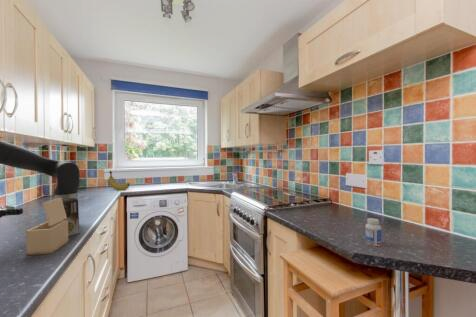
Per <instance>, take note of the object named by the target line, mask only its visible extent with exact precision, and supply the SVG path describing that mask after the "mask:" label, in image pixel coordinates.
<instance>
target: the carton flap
mask: <svg viewBox="0 0 476 317" xmlns="http://www.w3.org/2000/svg"><path fill="white" fill-rule="evenodd" d="M42 207H43V210H44V214H45V217H46V222H48V225H49V226H51V225H53V224H55V223H58V222H60V221H62V220H64V219H66V218H67V216H66V213H65V209H64V205H63V202H62V198H61V197H60V198H57V199H55V198H54V199H51V200H48V201H45V202H44V201H43V202H42Z"/></svg>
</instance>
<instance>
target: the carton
mask: <svg viewBox="0 0 476 317" xmlns="http://www.w3.org/2000/svg"><path fill="white" fill-rule="evenodd" d="M69 242H70V241H69V236H68V221H60V222H58V223H55V224H53V225H51V226H49V225H48V222H47V221H44V222H43V223H41V224H38V225H37V226H34V227H32V228H29V229H27V230H25V246H26V248H25V249H26V250H25V252H26V256H33V255H34V256H35V255H36V256H37V255H47V254H53V253H54V252H55V251H57V250H58V249H60V248H61V247H63V246H64V245H65V244H67V243H69Z"/></svg>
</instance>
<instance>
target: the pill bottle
mask: <svg viewBox="0 0 476 317" xmlns="http://www.w3.org/2000/svg"><path fill="white" fill-rule="evenodd" d="M364 229H365V243H366V244H367V245H369V246H372V247H380V246H382V243H383V242H382V226H381V225H380V220H379V219H378V218H373V217H368V218H367V220H366V224H365V228H364Z"/></svg>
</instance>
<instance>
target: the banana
mask: <svg viewBox="0 0 476 317" xmlns="http://www.w3.org/2000/svg"><path fill="white" fill-rule="evenodd" d="M108 173H109V174H110V176H109V177H108V180H107V181H108V185H109V186H110V187H111V188H112V189H114V190H116V191H124V190H127V189H129V187H130V182H129V183H128V182H127V183H123V184H121V183H118V181H117V180H116V179H115V178H114V177H113V172H112V171H111V170H109V172H108Z"/></svg>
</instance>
